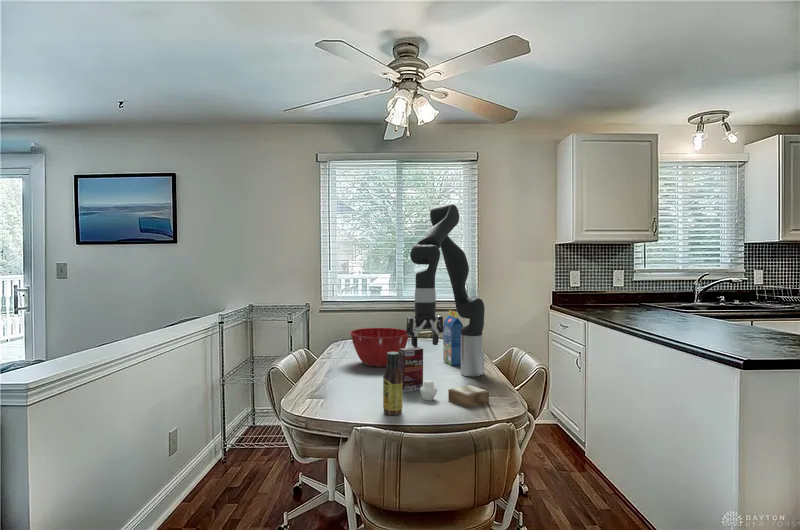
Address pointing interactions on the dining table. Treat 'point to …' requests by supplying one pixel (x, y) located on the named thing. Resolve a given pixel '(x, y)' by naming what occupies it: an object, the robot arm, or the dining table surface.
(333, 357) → the dining table surface
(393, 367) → the sauce bottle
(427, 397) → the white fluted ornament
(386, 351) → the mixing bowl
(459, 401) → the base
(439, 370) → the dining table surface
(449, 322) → the blue food package
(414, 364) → the supplement box
